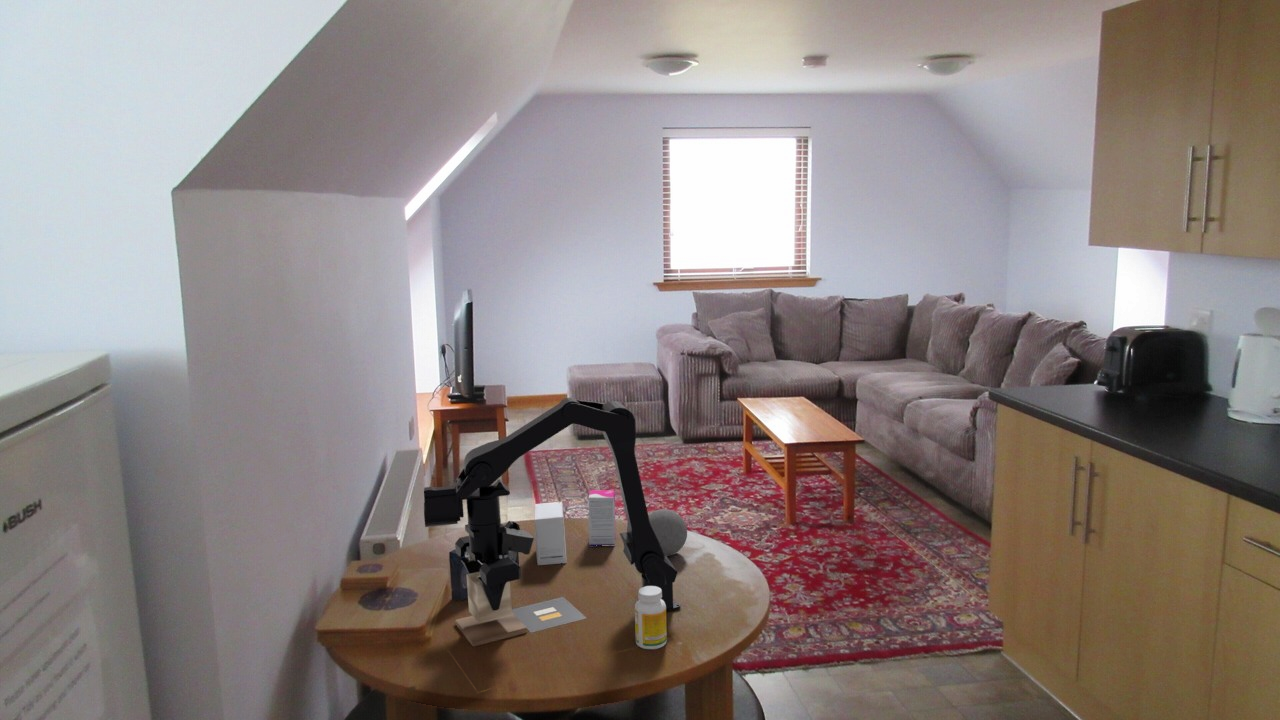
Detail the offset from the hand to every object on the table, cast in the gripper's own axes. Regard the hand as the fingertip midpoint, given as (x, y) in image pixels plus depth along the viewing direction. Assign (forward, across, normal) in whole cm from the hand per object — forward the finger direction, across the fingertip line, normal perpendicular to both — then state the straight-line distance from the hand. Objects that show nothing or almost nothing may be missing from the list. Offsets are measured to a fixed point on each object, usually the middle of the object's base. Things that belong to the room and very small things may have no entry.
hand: (489, 603), depth 163 cm
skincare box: (+5, +27, -23) cm, 36 cm away
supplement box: (+5, +28, -36) cm, 46 cm away
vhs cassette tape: (+5, +20, -6) cm, 21 cm away
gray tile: (+5, 0, -11) cm, 12 cm away
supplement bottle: (+5, -20, -22) cm, 30 cm away
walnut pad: (+5, 0, 0) cm, 5 cm away
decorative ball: (+5, +14, -44) cm, 46 cm away
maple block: (+2, 0, 0) cm, 2 cm away
